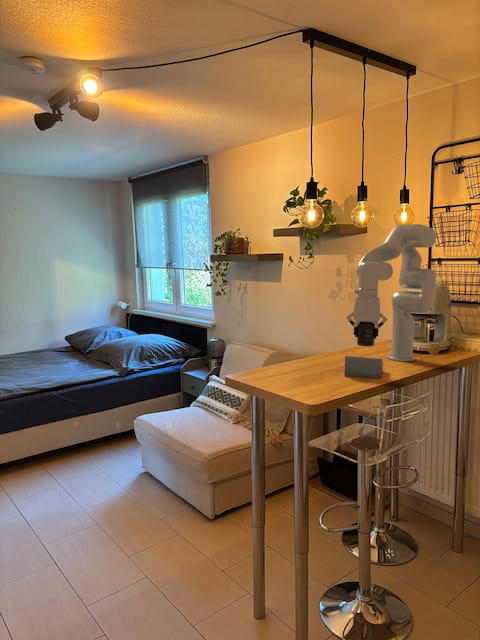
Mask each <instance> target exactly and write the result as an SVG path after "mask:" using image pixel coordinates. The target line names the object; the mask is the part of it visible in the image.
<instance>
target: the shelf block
mask: <svg viewBox="0 0 480 640" xmlns="http://www.w3.org/2000/svg"><path fill="white" fill-rule="evenodd" d="M383 372H384V361H383V359H382V358H375V357H364V356H363V357H362V356H348V355H345V357H344V377H349V378H358V379H359V378H361V379H368V380H369V379H371V380H382V377H383Z"/></svg>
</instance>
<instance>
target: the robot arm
mask: <svg viewBox="0 0 480 640" xmlns="http://www.w3.org/2000/svg"><path fill="white" fill-rule="evenodd" d="M436 240H437V234H436V231H435V229H434V228H433V227H429V226H427V225H425V224H421V223H410V224H405V223H404V224H397V225H395V226H394V227H393V228H392V229H391V231H390V232H389V234H388V235H387V237H386V238H385V240H384V241H383V243H382V244H380V245H378V246H377V247H374V248H373V249H371V250H370V251H368V252H366V253H365V254H364V256H363V257H361V260H360V261H359V263H358V265H357V267H356V275H357V277H358V288H357V290H356V289H354V294H357V296H355V300H354V308H353V311H352V312H351V313H349V314H348V315H347V316H346V320H347V321H348V322H349V323H350V324H351V326H352V327H353V336H354V337H355V338H357V327H358V323H359V322H373V323H374V324H375V331H374V340H376V339H377V337H379V329H380V328H381V327H382V326H383V325H384V324H385V323H386V322H387V321H388V318H387V317H386V316H385V315H383V313H382V312H381V302H380V297H379V296H378V293H379V281H381V282H383V281H388V280H390V279H391V278H392V276H393V274H394V269H393V268H394V267H393V265H392V264H390V263H389V261H392V260H394V259H397V258H398V257H400V256H401V265H400V271H399V276H398V284H399V287H400V288H403V289H407V290H399V291H396V292H395V293H393V295H392V297H391V308H392V309H391V310H392V327H391V328H392V331H391V332H392V333H391V348H390V353H389V354H387V357H386V358H387V359H389V360H392V361H396V362H397V361H398V362H413V361H416V359H417V357H416V356H415V355H414V353H413V351H414V340H415V339H414V338H415V337H414V336H415V319H414V317H413V316H412V314H413V313H414V314H427V313H429V312H430V311H431V309H432V307H433V301H434V294H435V290H436V282H437V276H436V273H435V271H434V270H433V269H430V268H421V267H422V262H423V261H422V255H421V253H420V252H419V251H418V250H417V248H431V247H433V246H434V245H435V244H436ZM409 289H410V291H409ZM411 290H421V291H411ZM411 313H412V314H411ZM352 317H353V318H352ZM380 318H381V321H380ZM379 321H380V322H379Z"/></svg>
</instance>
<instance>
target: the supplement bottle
mask: <svg viewBox="0 0 480 640" xmlns="http://www.w3.org/2000/svg"><path fill="white" fill-rule="evenodd" d="M374 331H375V324H374V322H359V323H358V324H357V337H356V343H357V344H356V345H358V346H362V347H373V346H375V338H374Z"/></svg>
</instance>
